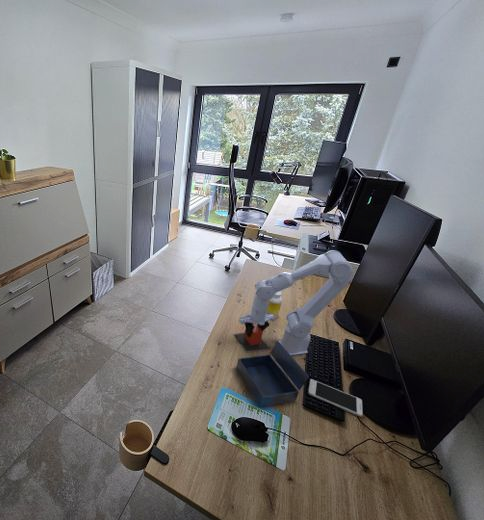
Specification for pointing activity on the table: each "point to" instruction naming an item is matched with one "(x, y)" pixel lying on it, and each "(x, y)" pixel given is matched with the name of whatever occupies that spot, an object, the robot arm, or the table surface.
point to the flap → (289, 365)
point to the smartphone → (336, 397)
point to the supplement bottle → (274, 304)
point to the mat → (247, 345)
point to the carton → (266, 381)
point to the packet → (254, 335)
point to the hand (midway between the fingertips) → (252, 334)
